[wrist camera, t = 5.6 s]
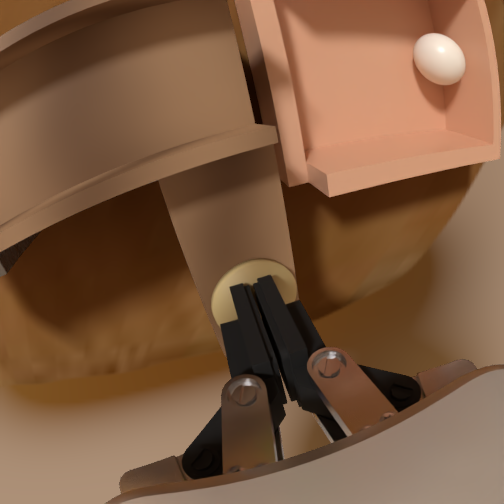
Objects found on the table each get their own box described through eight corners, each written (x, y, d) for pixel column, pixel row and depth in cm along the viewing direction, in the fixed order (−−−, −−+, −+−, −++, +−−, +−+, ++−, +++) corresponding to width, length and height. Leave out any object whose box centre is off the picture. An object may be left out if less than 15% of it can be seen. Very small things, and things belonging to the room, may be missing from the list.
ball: (418, 36, 13) (464, 38, 10) (425, 83, 15) (471, 87, 12) (401, 29, 11) (455, 30, 9) (410, 83, 13) (464, 88, 11)
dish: (426, -12, 11) (477, -20, 7) (448, 140, 17) (499, 158, 13) (226, -29, 10) (246, -73, 5) (272, 172, 16) (306, 203, 12)
